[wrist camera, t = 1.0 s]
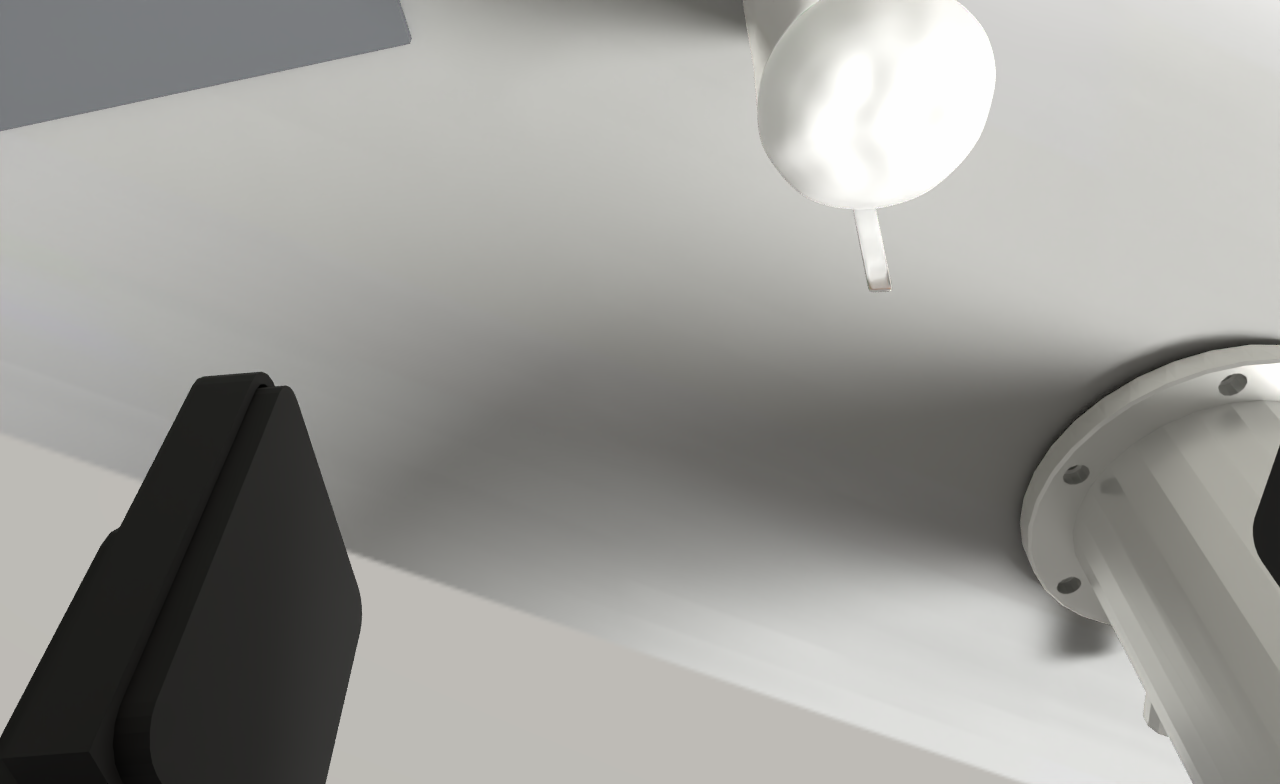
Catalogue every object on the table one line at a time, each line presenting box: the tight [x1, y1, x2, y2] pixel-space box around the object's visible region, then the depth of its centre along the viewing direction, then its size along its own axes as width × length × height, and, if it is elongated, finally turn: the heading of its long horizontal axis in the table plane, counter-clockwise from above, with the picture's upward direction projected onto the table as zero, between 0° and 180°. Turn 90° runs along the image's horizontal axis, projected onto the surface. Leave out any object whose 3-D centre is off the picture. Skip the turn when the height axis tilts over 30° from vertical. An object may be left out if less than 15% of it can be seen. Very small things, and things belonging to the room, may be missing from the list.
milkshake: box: [743, 0, 996, 292], centre depth 24 cm, size 4×5×10 cm
